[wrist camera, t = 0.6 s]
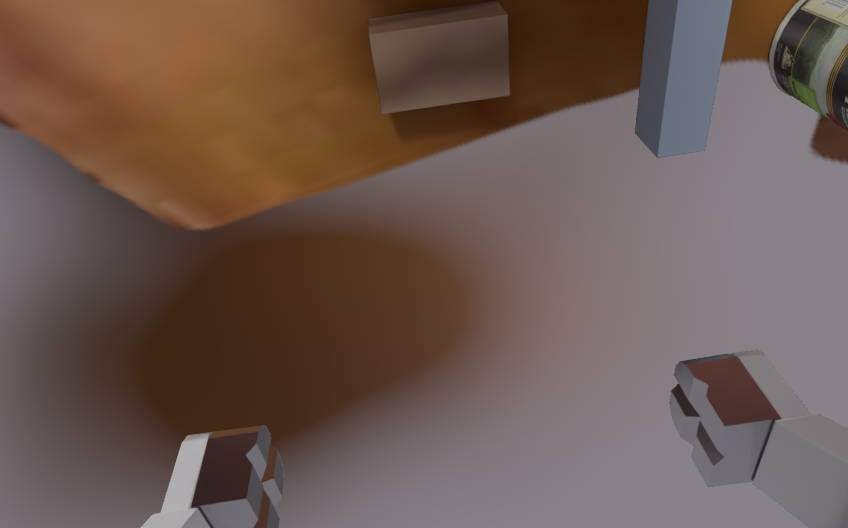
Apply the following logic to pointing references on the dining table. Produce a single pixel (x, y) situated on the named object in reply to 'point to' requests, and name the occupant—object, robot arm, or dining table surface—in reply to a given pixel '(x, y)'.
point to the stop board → (680, 73)
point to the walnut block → (441, 56)
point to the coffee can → (814, 57)
